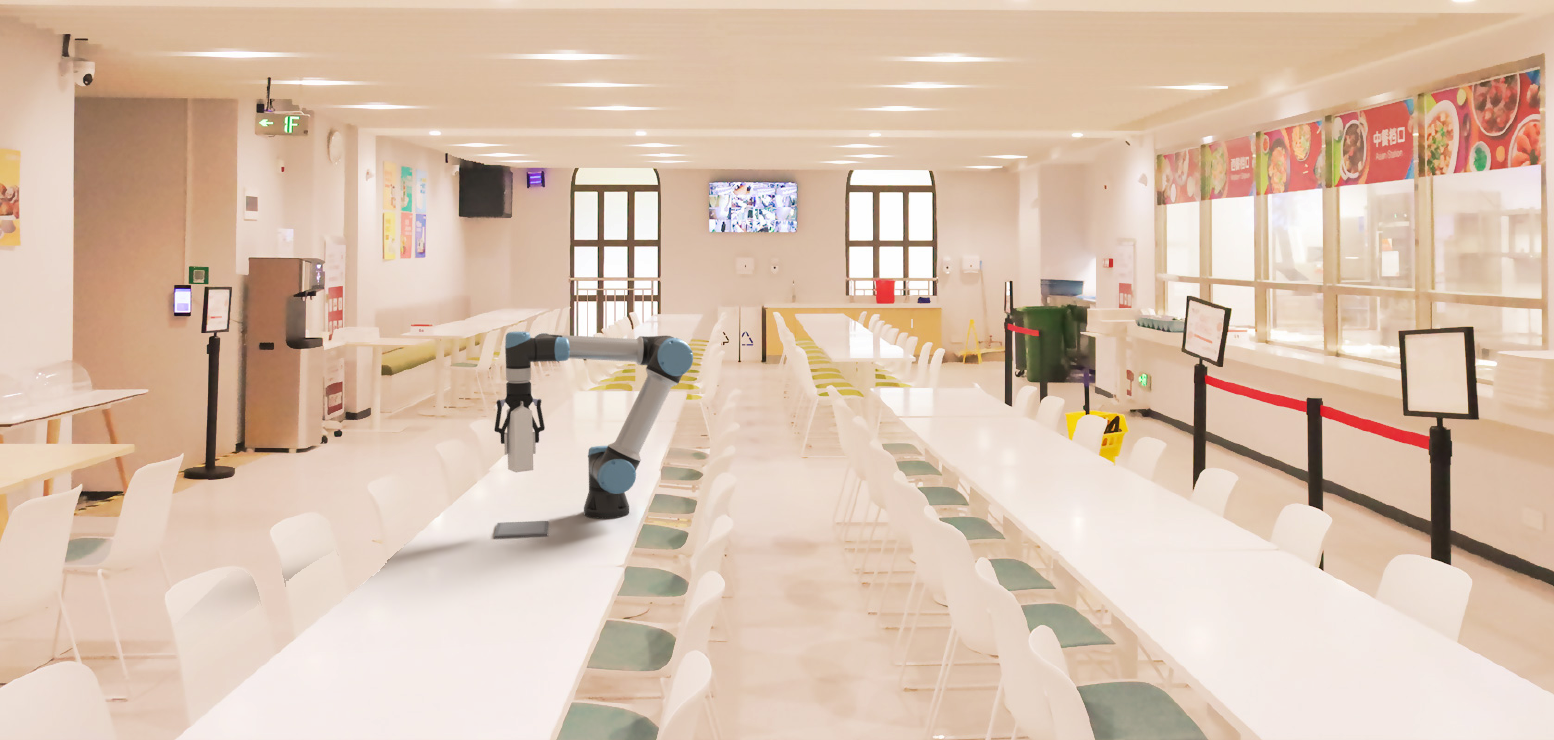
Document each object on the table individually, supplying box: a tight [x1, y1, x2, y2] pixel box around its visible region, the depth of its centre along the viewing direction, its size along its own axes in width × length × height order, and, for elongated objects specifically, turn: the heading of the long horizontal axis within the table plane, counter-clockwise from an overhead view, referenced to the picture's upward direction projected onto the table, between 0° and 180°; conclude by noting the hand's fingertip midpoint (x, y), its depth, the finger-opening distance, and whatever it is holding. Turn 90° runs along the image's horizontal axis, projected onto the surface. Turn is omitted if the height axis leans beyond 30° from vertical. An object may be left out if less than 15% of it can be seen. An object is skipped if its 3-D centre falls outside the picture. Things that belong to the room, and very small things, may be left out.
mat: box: [493, 520, 549, 539], centre depth 342 cm, size 16×16×1 cm
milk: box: [506, 401, 534, 473], centre depth 339 cm, size 6×6×22 cm
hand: (520, 453), depth 340 cm, fingers closed on milk, 8 cm apart
